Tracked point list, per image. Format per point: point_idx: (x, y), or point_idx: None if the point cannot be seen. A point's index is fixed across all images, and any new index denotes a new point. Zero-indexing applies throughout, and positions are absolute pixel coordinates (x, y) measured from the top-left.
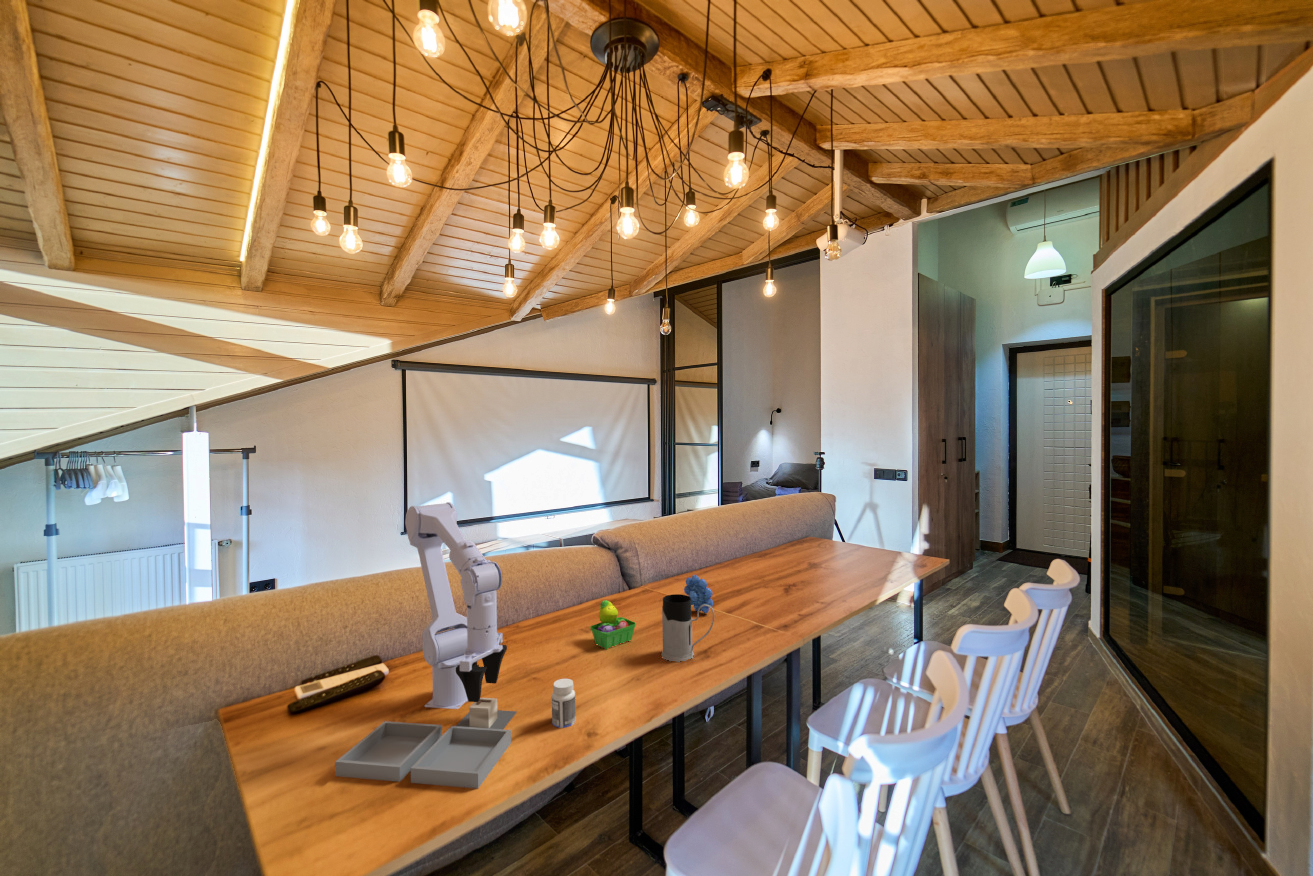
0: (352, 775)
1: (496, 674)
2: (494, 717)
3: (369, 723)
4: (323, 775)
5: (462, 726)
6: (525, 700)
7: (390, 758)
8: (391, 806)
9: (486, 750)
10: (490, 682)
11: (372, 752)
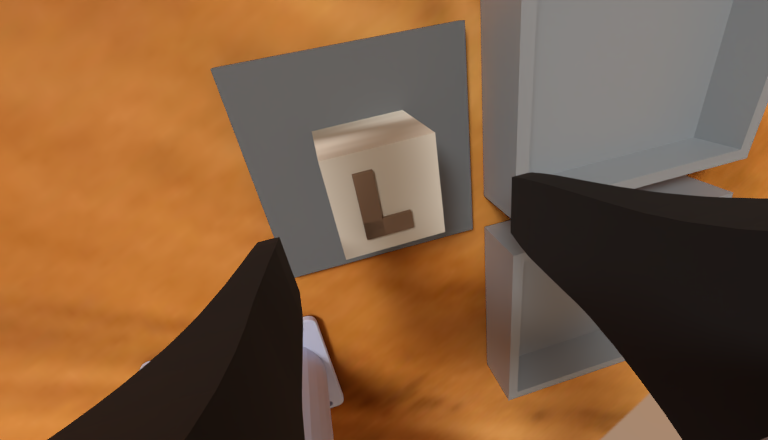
0: None
1: (271, 270)
2: (346, 128)
3: (441, 428)
4: None
5: None
6: (57, 116)
7: None
8: None
9: (553, 3)
10: (289, 272)
11: (568, 329)
